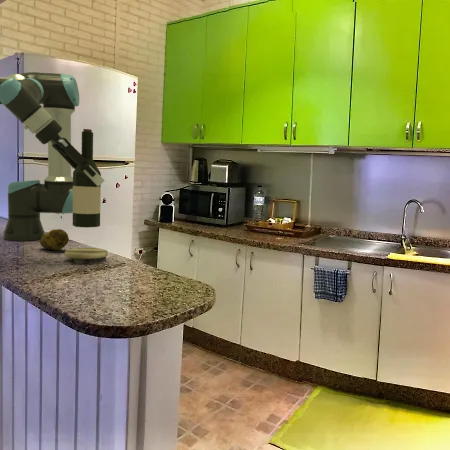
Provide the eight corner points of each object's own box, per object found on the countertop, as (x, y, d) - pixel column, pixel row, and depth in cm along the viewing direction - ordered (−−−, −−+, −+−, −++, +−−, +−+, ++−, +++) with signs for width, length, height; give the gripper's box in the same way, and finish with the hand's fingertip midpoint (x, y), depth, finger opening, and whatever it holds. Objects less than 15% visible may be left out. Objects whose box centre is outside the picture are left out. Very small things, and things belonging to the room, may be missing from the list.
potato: (62, 247, 168) (62, 225, 167) (70, 253, 157) (70, 230, 156) (38, 248, 164) (38, 226, 163) (45, 254, 153) (45, 231, 152)
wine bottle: (87, 223, 150) (88, 130, 147) (105, 226, 146) (107, 130, 143) (66, 225, 143) (67, 128, 140) (85, 228, 139) (86, 127, 135)
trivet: (65, 257, 150) (65, 248, 150) (105, 256, 154) (105, 247, 154) (64, 265, 138) (64, 255, 138) (109, 264, 142) (109, 254, 142)
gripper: (29, 136, 143) (82, 189, 153) (38, 133, 125) (97, 193, 135) (47, 121, 145) (98, 174, 155) (59, 115, 127) (115, 175, 137)
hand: (97, 182), depth 145 cm, fingers closed on wine bottle, 8 cm apart
